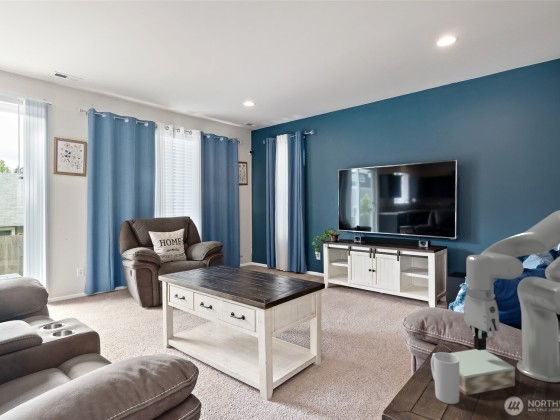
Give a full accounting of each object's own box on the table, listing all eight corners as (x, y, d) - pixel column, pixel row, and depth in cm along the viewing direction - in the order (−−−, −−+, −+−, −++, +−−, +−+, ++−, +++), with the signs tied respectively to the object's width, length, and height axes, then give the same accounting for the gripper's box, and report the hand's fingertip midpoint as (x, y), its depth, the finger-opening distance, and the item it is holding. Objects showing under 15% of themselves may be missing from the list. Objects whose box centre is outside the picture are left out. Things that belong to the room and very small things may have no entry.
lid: (481, 350, 112) (481, 348, 112) (515, 369, 100) (515, 367, 100) (435, 357, 108) (435, 355, 108) (464, 378, 96) (464, 376, 96)
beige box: (481, 366, 112) (480, 352, 112) (514, 385, 100) (514, 370, 100) (436, 373, 108) (436, 359, 108) (465, 395, 96) (465, 379, 96)
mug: (465, 402, 93) (464, 361, 92) (445, 406, 91) (444, 364, 91) (441, 384, 102) (440, 346, 102) (422, 387, 101) (421, 349, 101)
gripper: (510, 298, 99) (510, 358, 99) (471, 286, 113) (471, 338, 114) (489, 300, 97) (490, 361, 97) (452, 288, 112) (453, 340, 112)
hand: (480, 348), depth 106 cm, fingers closed
